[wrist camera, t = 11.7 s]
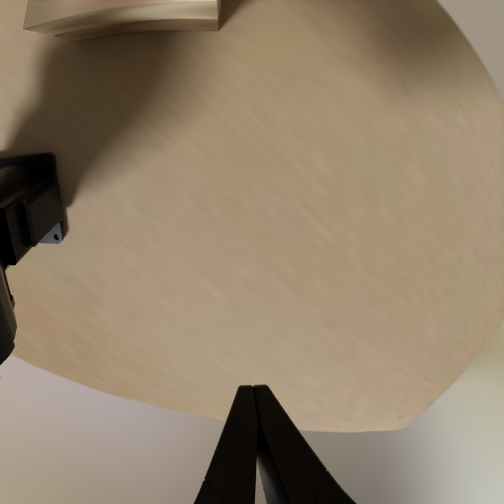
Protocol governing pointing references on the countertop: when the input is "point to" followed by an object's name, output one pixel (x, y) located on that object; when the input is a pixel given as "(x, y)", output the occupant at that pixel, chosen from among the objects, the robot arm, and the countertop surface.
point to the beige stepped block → (119, 17)
